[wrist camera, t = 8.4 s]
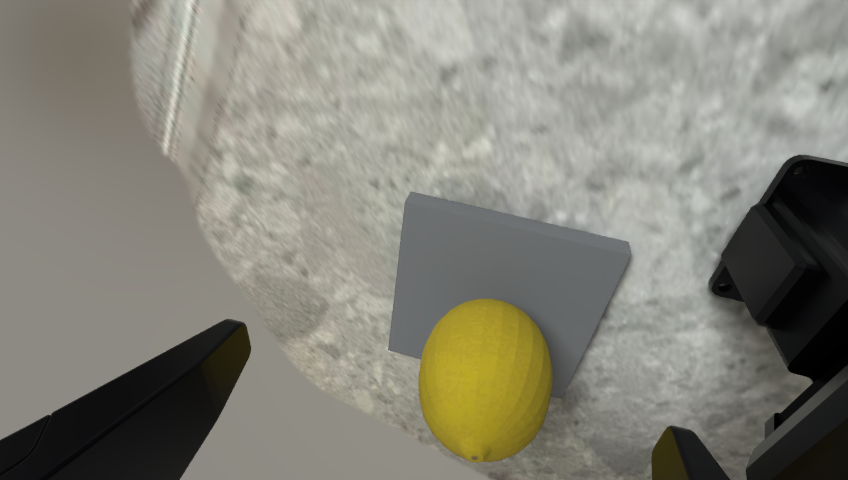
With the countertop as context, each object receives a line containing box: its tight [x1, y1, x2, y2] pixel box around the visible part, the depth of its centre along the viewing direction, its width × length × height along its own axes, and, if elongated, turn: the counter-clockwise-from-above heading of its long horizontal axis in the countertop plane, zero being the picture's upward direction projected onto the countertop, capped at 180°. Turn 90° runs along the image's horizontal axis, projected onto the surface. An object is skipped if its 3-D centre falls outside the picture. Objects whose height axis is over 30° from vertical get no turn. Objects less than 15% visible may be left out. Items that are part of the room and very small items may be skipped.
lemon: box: [419, 298, 553, 462], centre depth 19 cm, size 6×6×8 cm
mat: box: [388, 192, 631, 398], centre depth 23 cm, size 10×10×1 cm
